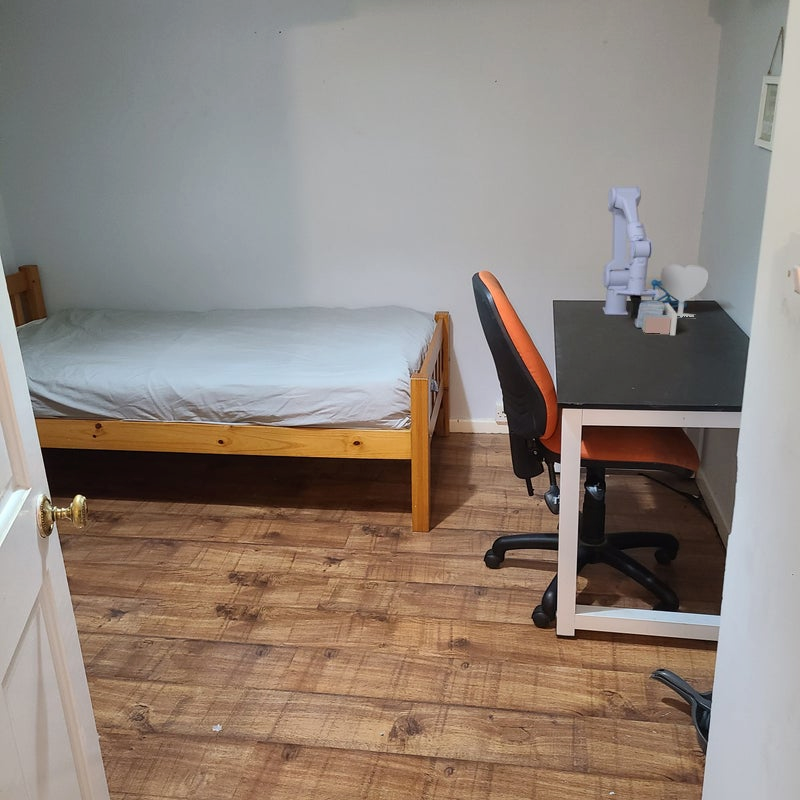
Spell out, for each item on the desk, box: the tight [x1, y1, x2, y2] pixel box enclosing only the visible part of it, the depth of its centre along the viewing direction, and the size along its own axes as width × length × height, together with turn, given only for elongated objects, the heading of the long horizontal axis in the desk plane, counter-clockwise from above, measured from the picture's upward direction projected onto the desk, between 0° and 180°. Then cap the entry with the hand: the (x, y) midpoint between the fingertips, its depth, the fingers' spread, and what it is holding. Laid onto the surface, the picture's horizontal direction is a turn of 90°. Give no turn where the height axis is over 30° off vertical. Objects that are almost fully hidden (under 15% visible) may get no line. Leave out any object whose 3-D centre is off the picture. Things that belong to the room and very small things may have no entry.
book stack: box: [641, 302, 678, 336], centre depth 269 cm, size 17×10×7 cm, turn 172°
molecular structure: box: [650, 279, 688, 309], centre depth 296 cm, size 10×10×10 cm
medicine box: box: [634, 299, 664, 329], centre depth 270 cm, size 8×4×9 cm, turn 87°
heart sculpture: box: [660, 263, 709, 318], centre depth 283 cm, size 16×5×18 cm, turn 73°
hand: (634, 317), depth 271 cm, fingers closed, pressing on medicine box
